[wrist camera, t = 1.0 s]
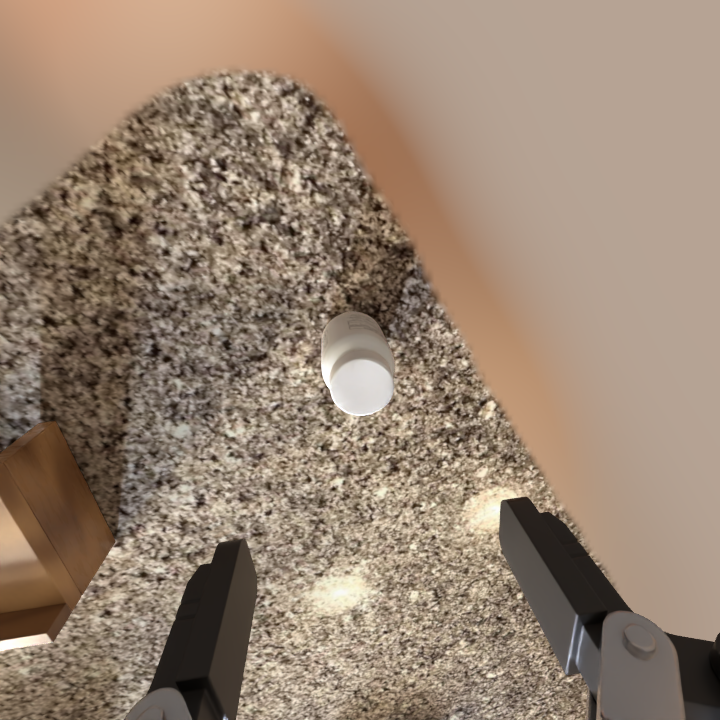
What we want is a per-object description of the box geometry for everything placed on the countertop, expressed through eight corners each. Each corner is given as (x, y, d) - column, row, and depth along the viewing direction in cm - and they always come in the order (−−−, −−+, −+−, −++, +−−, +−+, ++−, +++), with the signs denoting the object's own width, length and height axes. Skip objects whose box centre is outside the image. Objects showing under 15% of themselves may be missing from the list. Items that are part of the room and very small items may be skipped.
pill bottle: (344, 378, 28) (350, 437, 21) (309, 332, 26) (303, 378, 19) (394, 347, 27) (419, 396, 20) (361, 298, 26) (376, 332, 19)
